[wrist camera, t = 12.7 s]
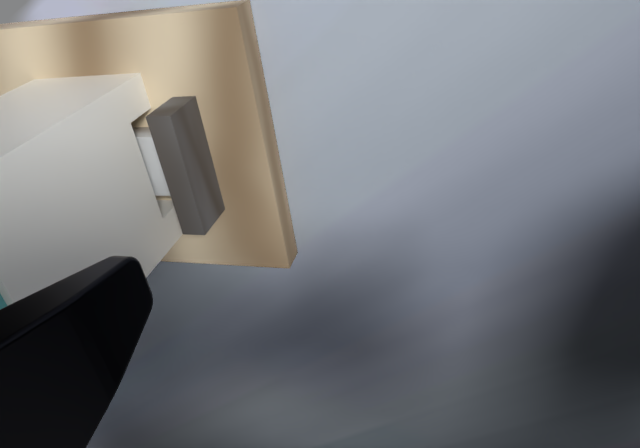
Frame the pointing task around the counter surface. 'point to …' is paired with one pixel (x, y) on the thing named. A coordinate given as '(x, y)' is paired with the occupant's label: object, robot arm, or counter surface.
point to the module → (75, 182)
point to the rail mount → (183, 117)
